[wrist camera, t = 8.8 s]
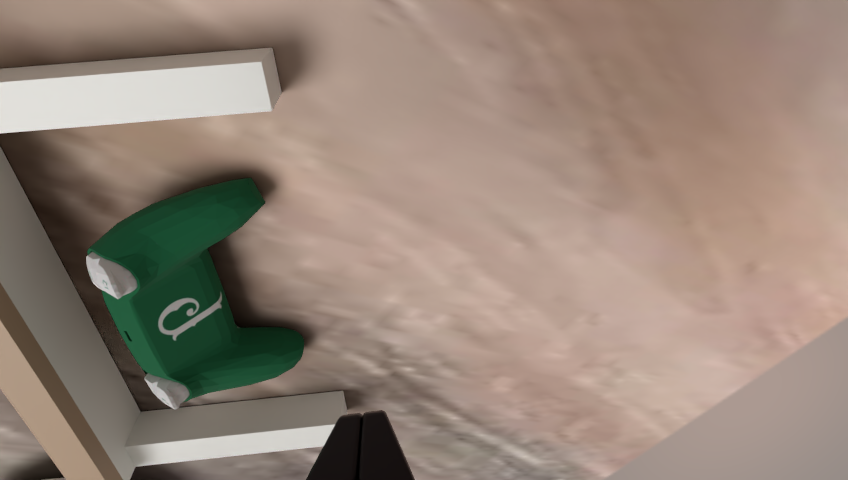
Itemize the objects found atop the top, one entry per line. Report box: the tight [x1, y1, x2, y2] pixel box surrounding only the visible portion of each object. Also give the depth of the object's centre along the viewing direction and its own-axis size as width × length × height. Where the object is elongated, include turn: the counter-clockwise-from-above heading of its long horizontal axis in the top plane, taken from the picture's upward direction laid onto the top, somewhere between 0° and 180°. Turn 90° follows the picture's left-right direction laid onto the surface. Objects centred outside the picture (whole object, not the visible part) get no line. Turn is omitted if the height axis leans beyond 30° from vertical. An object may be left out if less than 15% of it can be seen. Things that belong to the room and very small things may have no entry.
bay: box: [0, 48, 347, 480], centre depth 20 cm, size 12×18×4 cm, turn 3°
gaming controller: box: [86, 178, 304, 410], centre depth 20 cm, size 9×4×6 cm
